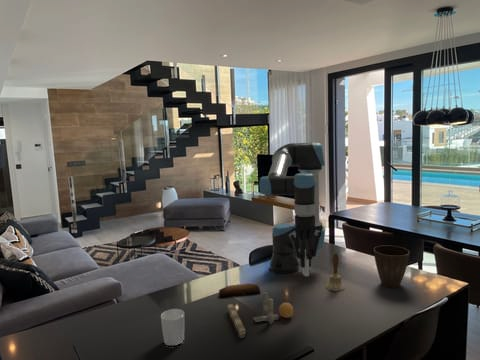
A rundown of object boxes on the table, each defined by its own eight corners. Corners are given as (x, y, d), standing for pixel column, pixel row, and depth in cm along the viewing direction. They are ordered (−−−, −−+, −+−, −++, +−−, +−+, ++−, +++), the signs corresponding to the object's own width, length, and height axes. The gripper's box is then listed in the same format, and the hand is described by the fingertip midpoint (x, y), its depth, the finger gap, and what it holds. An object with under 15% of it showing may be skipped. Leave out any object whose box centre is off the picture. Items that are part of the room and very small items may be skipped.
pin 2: (267, 322, 135) (266, 299, 134) (272, 321, 135) (272, 298, 134) (269, 324, 133) (268, 301, 132) (274, 323, 133) (273, 300, 132)
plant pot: (392, 276, 173) (393, 243, 172) (416, 287, 159) (417, 252, 157) (366, 281, 169) (366, 247, 167) (389, 293, 155) (389, 257, 153)
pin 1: (262, 314, 141) (262, 292, 140) (267, 313, 141) (267, 291, 140) (264, 317, 139) (263, 294, 138) (269, 316, 139) (268, 293, 138)
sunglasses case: (256, 285, 168) (257, 276, 164) (259, 298, 163) (260, 289, 159) (217, 290, 165) (217, 280, 161) (219, 303, 160) (219, 294, 155)
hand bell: (343, 283, 167) (342, 250, 165) (346, 291, 159) (346, 256, 157) (324, 283, 168) (324, 250, 166) (327, 291, 159) (326, 256, 158)
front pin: (276, 313, 138) (253, 317, 136) (277, 314, 136) (254, 317, 134) (277, 319, 137) (254, 322, 136) (278, 320, 136) (255, 323, 134)
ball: (285, 297, 140) (292, 307, 142) (274, 305, 139) (280, 316, 141) (291, 303, 135) (298, 314, 136) (280, 312, 134) (286, 323, 135)
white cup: (164, 336, 128) (162, 309, 127) (186, 334, 128) (185, 308, 127) (161, 349, 120) (159, 321, 119) (185, 347, 121) (183, 319, 119)
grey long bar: (228, 312, 144) (227, 305, 143) (233, 311, 144) (232, 304, 144) (240, 338, 124) (239, 330, 124) (245, 338, 125) (245, 329, 124)
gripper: (292, 218, 131) (293, 280, 134) (325, 215, 134) (325, 276, 137) (284, 214, 138) (286, 273, 141) (316, 211, 141) (317, 269, 144)
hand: (305, 274), depth 139 cm, fingers closed
